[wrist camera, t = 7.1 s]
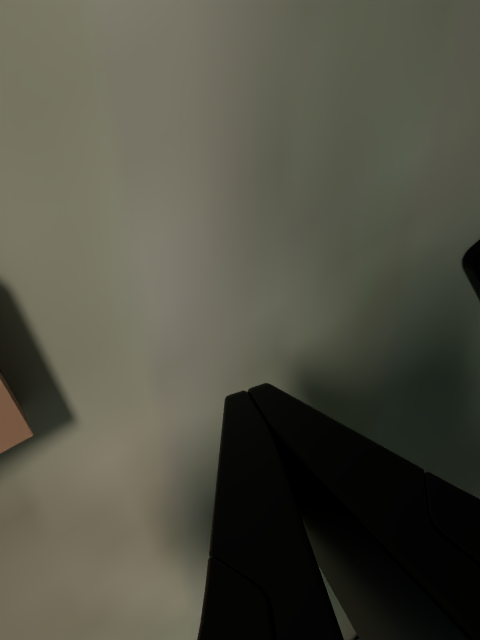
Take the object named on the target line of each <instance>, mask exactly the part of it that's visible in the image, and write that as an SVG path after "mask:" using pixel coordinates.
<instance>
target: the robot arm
mask: <svg viewBox="0 0 480 640" xmlns="http://www.w3.org/2000/svg"><path fill="white" fill-rule="evenodd" d="M479 258H480V240H479V241H478V242H477V243H476V244H474V245H473V246H472V247H471V248H470V249H469V250H468V252H467V253H466V255H465V258H464V265H465V268H466V270H467V272H468V274H469V276H470V277H471V279H472V281H473V283H474V285H475V287H476V289H477V291H478V293H479V295H480V260H479ZM209 556H210V558H209V559H208V567H207V577H206V586H205V593H204V601H203V608H202V615H201V623H200V628H199V633H198V639H197V640H344V639H343V636H342V633H341V630H340V627H339V625H338V622H337V619H336V616H335V613H334V610H333V607H332V604H331V602H330V599H329V596H328V593H327V590H326V587H325V584H324V581H323V578H322V576H321V573H320V570H319V567H318V565H319V566H320V568H321V570H322V572H323V574H324V575H325V577H326V579H327V581H328V583H329V585H330V586H331V588H332V590H333V592H334V594H335V595H336V597H337V599H338V601H339V603H340V604H341V606H342V608H343V610H344V612H345V613H346V615H347V617H348V619H349V621H350V622H351V624H352V626H353V628H354V630H355V632H356V633H357V635H358V637H359V639H360V640H480V499H478V498H476V497H474V496H473V495H471V494H469V493H467V492H465V491H463V490H461V489H459V488H457V487H455V486H453V485H452V484H450V483H448V482H446V481H444V480H442V479H441V478H439V477H437V476H435V475H433V474H432V473H430V472H425V474H424V470H423V469H422V468H420V467H419V466H417V465H415V464H413V463H411V462H410V461H408V460H406V459H404V458H402V457H401V456H399V455H397V454H395V453H393V452H392V451H390V450H388V449H386V448H384V447H383V446H381V445H379V444H377V443H375V442H374V441H372V440H370V439H368V438H366V437H365V436H363V435H361V434H359V433H357V432H356V431H354V430H352V429H350V428H348V427H347V426H345V425H343V424H341V423H339V422H338V421H336V420H334V419H332V418H330V417H329V416H327V415H325V414H323V413H321V412H320V411H318V410H316V409H314V408H312V407H311V406H309V405H307V404H305V403H303V402H302V401H300V400H298V399H296V398H294V397H293V396H291V395H289V394H287V393H285V392H284V391H282V390H280V389H278V388H276V387H275V386H273V385H271V384H268V383H264V384H261V385H258V386H255V387H252V388H250V389H249V390H248V392H246V391H240V392H237V393H234V394H231V395H228V396H227V397H226V398H225V403H224V413H223V423H222V433H221V443H220V452H219V462H218V472H217V482H216V492H215V502H214V511H213V521H212V531H211V541H210V551H209ZM317 563H318V564H317Z"/></svg>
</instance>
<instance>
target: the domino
mask: <svg viewBox="0 0 480 640" xmlns="http://www.w3.org/2000/svg"><path fill="white" fill-rule="evenodd" d="M32 436H34V435H33V433H32V431H31V428H30V426H29V424H28V422H27V419H26V417H25V415H24V412H23V410H22V408H21V406H20V404H19V403H18V401H17V399H16V397H15V396H14V394H13V392H12V391H11V389H10V387H9V385H8V384H7V382H6V380H5V379H4V377H3V375H2V373H1V372H0V453H2V452H4V451H6V450H8V449H10V448H11V447H13V446H15V445H17V444H19V443H21V442H23V441H24V440H26V439H28V438H30V437H32Z"/></svg>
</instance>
